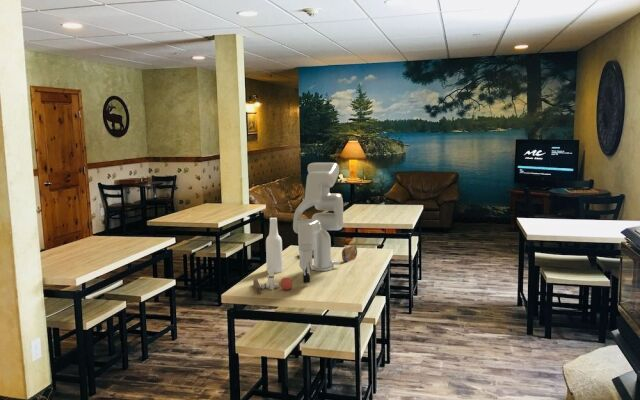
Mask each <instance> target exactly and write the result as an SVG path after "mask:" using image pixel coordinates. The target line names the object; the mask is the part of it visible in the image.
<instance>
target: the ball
mask: <svg viewBox="0 0 640 400" xmlns="http://www.w3.org/2000/svg"><path fill="white" fill-rule="evenodd" d="M292 286H293V280H292V279H291V278H290V277H288V276H287V277H283V278H281V280H280V282H279V287H280V288H282V289H283V290H286V291H287V290H290V289H291V288H292Z"/></svg>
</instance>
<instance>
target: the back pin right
mask: <svg viewBox="0 0 640 400" xmlns="http://www.w3.org/2000/svg"><path fill="white" fill-rule="evenodd" d="M269 272H273V270H268V271H267V284H268V283H269Z"/></svg>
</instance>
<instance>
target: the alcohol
mask: <svg viewBox="0 0 640 400" xmlns="http://www.w3.org/2000/svg"><path fill="white" fill-rule="evenodd" d="M265 252H266V254H265V255H266V257H265V258H266V260H265V261H266V272H268V270H273V272H274V274H279V273H282V272H283V269H284V268H283V240H282V237H281V236H280V235H279V230H278V218H277V217H269V233H268V236H267V237H266V239H265Z"/></svg>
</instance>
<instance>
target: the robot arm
mask: <svg viewBox="0 0 640 400" xmlns="http://www.w3.org/2000/svg"><path fill="white" fill-rule="evenodd" d="M307 172H308V174H307V176H306V182H305V183H306V184H305V191H304V193H305V194H304V198H303V201H302V202H300V204H299V205H298V206H297V207H296V209H295V212H294V214H293V222H292V229H293V231H294V233H295V234H298V236H297V237H298V238H297V239H298V251H299V252H300V253H299V255H300V256H299V268H300V269H301V270H302V274H303V275H302V278H303V279H302V282H303V283H304V284H309V283H311V271H312V270H313V271H317V272H326V271H327V272H328V271H331V270H334V269H335V268H334V266H335V265H340V261H339V260H338V261H337V260H332V256H331V253H332V251H331V249H332V248H331V246H332V244H331V238H332V237H331V236H330V234H329V232H328V231H341V230H342V229H343V226H344V201H343V199H344V198H343V197H342V195H341V194H340V193H331V192H330V188H333V186H334V185H335V183H336V182H337V179H338V177H339V174H340V165H339V164H338V163H337V162H311V163H309V164H308V165H307ZM313 206H314V208H315V210H318V211H327V212H316V213H314V214H313V215H312V217H311V218H310V219H309V218H301V216H302V214H303V213H304V212H305V211H306V210H308V209H309V208H311V207H313ZM328 211H331V212H328ZM312 250H314V257H312Z"/></svg>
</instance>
